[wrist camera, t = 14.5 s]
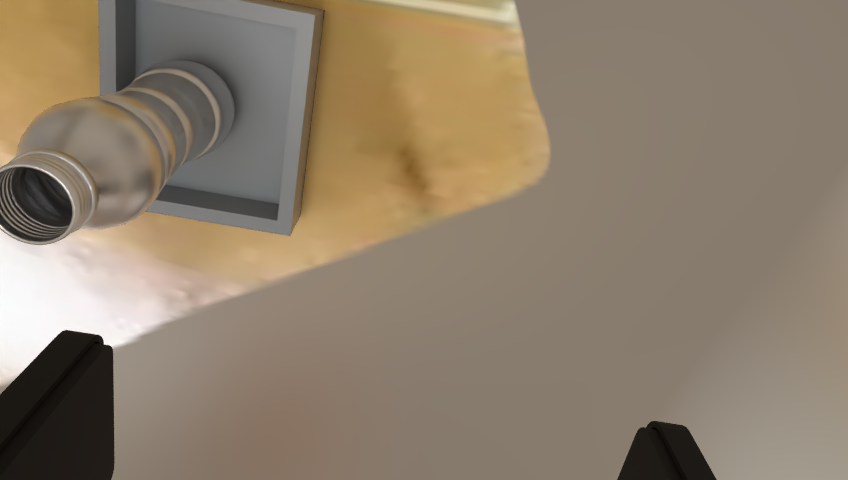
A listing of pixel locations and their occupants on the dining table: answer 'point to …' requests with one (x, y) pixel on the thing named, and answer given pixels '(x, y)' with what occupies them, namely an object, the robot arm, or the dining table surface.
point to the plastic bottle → (111, 152)
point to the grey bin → (252, 93)
